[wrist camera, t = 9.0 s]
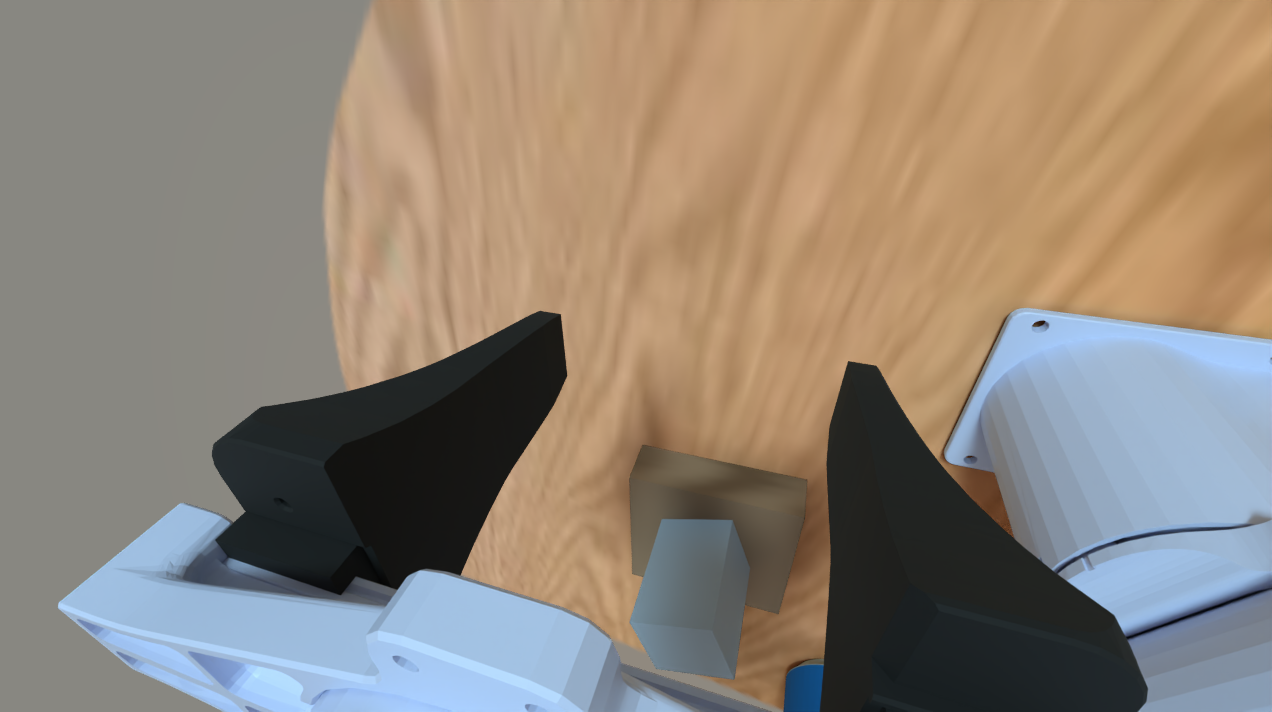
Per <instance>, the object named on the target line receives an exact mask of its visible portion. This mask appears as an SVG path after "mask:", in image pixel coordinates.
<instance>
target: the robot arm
mask: <svg viewBox="0 0 1272 712" xmlns="http://www.w3.org/2000/svg"><path fill="white" fill-rule="evenodd" d="M1042 320H1044V321H1046V322H1045V323H1044V324H1043V325H1042V326H1040V327H1032V325H1033V324H1034V323H1035V322H1037V321H1042ZM1270 358H1272V340H1270V339H1262V338H1254V337H1247V336H1239V335H1231V334H1224V333H1216V332H1208V331H1201V330H1193V329H1185V328H1178V327H1170V326H1162V325H1155V324H1147V323H1139V322H1131V321H1124V320H1116V319H1108V318H1101V317H1093V316H1085V315H1078V314H1070V313H1062V312H1055V311H1047V310H1039V309H1032V308H1021V309H1017V310H1015V311H1013V312H1012V313H1010V315H1009V316H1008V317H1007V319H1006V321H1005V323H1004V325H1003V328H1002V330H1001V332H1000V334H999V336H998V338H997V340H996V342H995V344H994V346H993V349H992V351H991V353H990V355H989V357H988V359H987V361H986V363H985V365H984V367H983V370H982V372H981V374H980V376H979V378H978V380H977V382H976V384H975V386H974V389H973V391H972V393H971V395H970V397H969V399H968V401H967V403H966V405H965V407H964V410H963V412H962V414H961V416H960V418H959V420H958V422H957V424H956V426H955V428H954V431H953V433H952V435H951V437H950V439H949V441H948V443H947V445H946V447H945V449H944V455H945V459H946V461H948V462H949V463H951V464H954V465H959V466H964V467H969V468H974V469H979V470H984V471H989V472H994V473H995V475H996V479H997V482H998V485H999V489H1000V492H1001V495H1002V499H1003V502H1004V505H1005V508H1006V512H1007V515H1008V518H1009V522H1010V525H1011V528H1012V532H1013V535H1014V538H1015V539H1014V538H1013V537H1012V536H1011V535H1009V534H1008V533H1007V532H1006V531H1005V530H1004V529H1003V528H1002V527H1000V526H999V525H998V524H997V523H996V522H995V521H994V520H993V519H992V518H991V517H990V516H989V515H988V514H987V513H986V512H985V511H984V510H982V509H981V508H980V507H979V506H978V505H977V504H976V503H975V502H974V501H973V500H972V499H971V498H970V497H969V496H968V494H967V493H966V492H965V491H964V490H963V489H962V488H961V487H960V486H959V485H958V484H957V482H956V481H955V480H954V479H953V478H952V477H951V476H950V475H949V474H948V472H947V471H946V470H945V469H944V468H943V467H942V465H941V464H940V463H939V462H938V460H937V459H936V458H935V456H934V455H933V454H932V452H931V451H930V450H929V448H928V447H927V446H926V444H925V443H924V442H923V440H922V439H921V437H920V436H919V435H918V433H917V432H916V430H915V429H914V427H913V426H912V424H911V423H910V421H909V420H908V418H907V417H906V415H905V413H904V412H903V410H902V409H901V407H900V405H899V404H898V402H897V400H896V399H895V397H894V395H893V394H892V392H891V390H890V388H889V386H888V385H887V383H886V381H885V379H884V377H883V376H882V374H881V372H880V370H879V369H878V367H877V366H874V365H868V364H862V363H856V362H850V361H848V364H847V367H846V371H845V374H844V378H843V381H842V385H841V388H840V392H839V395H838V399H837V402H836V406H835V409H834V413H833V416H832V420H831V423H830V428H829V439H828V451H827V485H828V505H829V525H830V544H831V566H830V583H829V600H828V614H827V628H826V642H825V655H824V667H823V679H822V691H821V701H820V712H1272V359H1270ZM566 377H567V369H566V359H565V350H564V340H563V331H562V321H561V314H556V313H549V312H543V311H538V312H536V313H534V314H532V315H530V316H528V317H526V318H524V319H522V320H520V321H518V322H516V323H514V324H512V325H510V326H509V327H507V328H505V329H503V330H501V331H499V332H497V333H495V334H494V335H492V336H490V337H488V338H486V339H484V340H482V341H480V342H478V343H476V344H474V345H472V346H470V347H468V348H466V349H464V350H462V351H460V352H458V353H456V354H453V355H451V356H449V357H447V358H445V359H443V360H441V361H438V362H436V363H433V364H431V365H429V366H426V367H424V368H421V369H418V370H416V371H413V372H410V373H408V374H405V375H402V376H399V377H396V378H392V379H389V380H386V381H383V382H379V383H376V384H373V385H370V386H366V387H363V388H359V389H355V390H351V391H347V392H343V393H338V394H334V395H329V396H325V397H320V398H315V399H310V400H304V401H298V402H291V403H285V404H279V405H272V406H265V407H261V408H259V409H258V410H256V411H255V412H254V413H252V414H251V415H250V416H249V417H247V418H246V419H245V420H244V421H242V422H241V423H240V424H239V425H237V426H236V427H235V428H233V429H232V430H231V431H230V432H228V433H227V434H226V435H225V436H223V437H222V438H220V439H219V440H218V441H217V442H215V443H214V445H213V450H212V457H213V461H214V465H215V467H216V468H217V470H218V472H219V474H220V475H221V477H222V478H223V480H224V481H225V483H226V484H227V485H228V487H229V488H230V490H231V491H232V493H233V494H234V495H235V497H236V498H237V500H238V501H239V503H240V504H241V506H242V507H243V509H244V510H245V511H246V512H245V513H244V514H243V515H241V516H240V517H239V518H238V519H237V520H236V521H235V522H234V523H233V522H232V521H231V520H230V519H228V518H227V517H225V516H223V515H221V514H219V513H216V512H213V511H210V510H207V509H204V508H200V507H197V506H194V505H191V504H187V503H180V504H179V505H178V506H176V507H175V508H174V509H173V510H172V511H170V512H169V513H168V514H167V515H165V516H164V517H163V518H162V519H160V520H159V521H158V522H157V523H156V524H155V525H153V526H152V527H151V528H149V529H148V530H147V531H146V532H145V533H143V534H142V535H141V536H140V537H139V538H137V539H136V540H135V541H134V542H132V543H131V544H130V545H129V546H127V547H126V548H125V549H124V550H123V551H121V552H120V553H119V554H118V555H116V556H115V557H114V558H113V559H112V560H110V561H109V562H108V563H107V564H105V565H104V566H103V567H102V568H101V569H99V570H98V571H97V572H96V573H94V574H93V575H92V576H91V577H90V578H88V579H87V580H86V581H85V582H83V583H82V584H81V585H80V586H78V587H77V588H76V589H75V590H74V591H72V592H71V593H70V594H69V595H68V596H66V597H65V598H64V599H63V600H61V601H60V602H59V606H58V609H60V610H61V611H62V612H63V613H65V614H66V615H67V616H68V617H69V618H71V619H72V620H73V621H74V622H76V623H77V624H78V625H79V626H81V627H82V628H83V629H84V630H85V631H87V632H88V633H89V634H90V635H91V636H93V637H94V638H95V639H96V640H98V641H99V642H100V643H101V644H102V645H104V646H105V647H106V648H107V649H109V650H110V651H111V652H112V653H114V654H115V655H116V656H117V657H119V658H120V659H121V660H122V661H123V662H124V663H126V664H127V665H128V666H130V667H131V668H132V669H134V670H136V671H138V672H140V673H143V674H145V675H148V676H150V677H152V678H154V679H156V680H158V681H161V682H163V683H165V684H167V685H170V686H172V687H174V688H176V689H178V690H180V691H182V692H184V693H186V694H189V695H191V696H193V697H195V698H197V699H199V700H201V701H203V702H205V703H207V704H209V705H211V706H213V707H215V708H217V709H219V710H221V711H223V712H771V711H768V710H765V709H762V708H759V707H756V706H753V705H750V704H747V703H744V702H740V701H738V700H735V699H731V698H728V697H725V696H722V695H719V694H716V693H713V692H710V691H707V690H704V689H701V688H698V687H695V686H691V685H688V684H685V683H682V682H679V681H676V680H673V679H670V678H666V677H664V676H661V675H657V674H655V673H651V672H648V671H645V670H642V669H639V668H636V667H633V666H630V665H627V664H624V663H621V662H620V656H619V654H618V652H617V650H616V648H615V646H614V644H613V642H612V640H611V638H610V636H609V635H608V634H607V633H606V632H605V631H603V630H602V629H601V628H600V627H598V626H597V625H596V624H595V623H593V622H592V621H591V620H590V619H588V618H586V617H584V616H581V615H579V614H577V613H575V612H572V611H570V610H568V609H566V608H563V607H560V606H557V605H554V604H551V603H547V602H544V601H541V600H538V599H534V598H531V597H528V596H525V595H521V594H518V593H515V592H512V591H508V590H505V589H502V588H499V587H495V586H492V585H489V584H485V583H482V582H479V581H476V580H472V579H469V578H466V577H463V576H460V575H461V573H462V570H463V568H464V566H465V563H466V561H467V559H468V557H469V554H470V552H471V550H472V547H473V545H474V543H475V541H476V539H477V537H478V534H479V532H480V530H481V528H482V526H483V524H484V522H485V520H486V518H487V515H488V513H489V511H490V509H491V507H492V505H493V503H494V501H495V499H496V497H497V496H498V494H499V492H500V490H501V488H502V486H503V484H504V482H505V480H506V478H507V477H508V475H509V473H510V472H511V470H512V468H513V467H514V465H515V464H516V462H517V461H518V459H519V458H520V456H521V455H522V453H523V452H524V450H525V449H526V447H527V446H528V444H529V443H530V441H531V440H532V438H533V437H534V435H535V434H536V432H537V431H538V429H539V427H540V426H541V424H542V423H543V421H544V420H545V418H546V417H547V415H548V414H549V412H550V410H551V409H552V407H553V405H554V403H555V401H556V399H557V397H558V395H559V393H560V391H561V389H562V386H563V384H564V382H565V380H566ZM966 456H974V457H971V458H966Z"/></svg>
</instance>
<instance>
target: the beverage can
mask: <svg viewBox="0 0 1272 712" xmlns="http://www.w3.org/2000/svg"><path fill="white" fill-rule="evenodd" d="M823 667H824V659H812V660H808V661H805V662H803V663H802V664H800V665H799V666H797V667H795V668H793V669H791V670H790V671H789V672H788V674H787V676H786V686H785V699H784V712H820V701H821V691H822V679H823Z"/></svg>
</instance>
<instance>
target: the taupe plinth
mask: <svg viewBox="0 0 1272 712" xmlns="http://www.w3.org/2000/svg"><path fill="white" fill-rule="evenodd" d="M629 482H630V514H631V545H632V574H634V575H638V576H641V577H644V575H645V571H646V568H647V565H648V562H649V559H650V555H651V552H652V549H653V546H654V543H655V539H656V536H657V533H658V530H659V527H660V523H661V520H662V519H701V520H733V523H734V525H735V528H736V531H737V534H738V536H739V539H740V542H741V545H742V547H743V550H744V553H745V556H746V558H747V561H748V564H749V567H750V572H749V579H748V587H747V594H746V601H745V605H747V606H750V607H754V608H758V609H761V610H765V611H769V612H772V613H776V614H779V610H780V607H781V603H782V600H783V596H784V592H785V589H786V585H787V581H788V578H789V574H790V570H791V567H792V563H793V559H794V556H795V552H796V548H797V545H798V541H799V537H800V534H801V530H802V526H803V523H804V519H805V507H806V491H807V480H806V479H801V478H796V477H792V476H787V475H782V474H777V473H773V472H768V471H763V470H759V469H754V468H749V467H745V466H740V465H735V464H730V463H726V462H721V461H716V460H712V459H707V458H702V457H698V456H693V455H688V454H683V453H679V452H674V451H669V450H665V449H660V448H655V447H651V446H646V445H642V448H641V450H640V453H639V455H638V458H637V460H636V463H635V465H634V467H633V470H632V472H631V475H630V477H629Z"/></svg>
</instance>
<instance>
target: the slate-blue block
mask: <svg viewBox="0 0 1272 712" xmlns="http://www.w3.org/2000/svg"><path fill="white" fill-rule="evenodd" d="M749 572H750V567H749V564H748V561H747V558H746V556H745V553H744V550H743V547H742V545H741V542H740V539H739V536H738V534H737V531H736V528H735V525H734V523H733V520H701V519H662V520H661V523H660V527H659V530H658V533H657V536H656V539H655V543H654V546H653V549H652V552H651V555H650V559H649V562H648V565H647V568H646V571H645V575H644V578H643V581H642V584H641V587H640V590H639V594H638V597H637V600H636V603H635V606H634V610H633V613H632V616H631V619H630V624H631V626H632V627H633V629H634V631H635V633H636V634H637V636H638V638H639V640H640V641H641V643H642V645H643V647H644V648H645V650H646V652H647V654H648V655H649V657H650V659H651V660H652V662H653V664H654V666H655V667H656V669H661V670H668V671H675V672H682V673H690V674H697V675H704V676H711V677H718V678H726V679H733V680H734V679H735V672H736V665H737V658H738V651H739V644H740V636H741V629H742V622H743V615H744V608H745V601H746V594H747V587H748V579H749Z"/></svg>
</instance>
